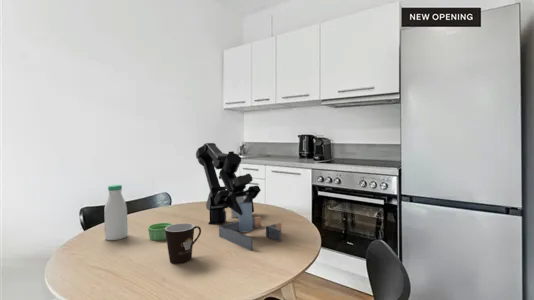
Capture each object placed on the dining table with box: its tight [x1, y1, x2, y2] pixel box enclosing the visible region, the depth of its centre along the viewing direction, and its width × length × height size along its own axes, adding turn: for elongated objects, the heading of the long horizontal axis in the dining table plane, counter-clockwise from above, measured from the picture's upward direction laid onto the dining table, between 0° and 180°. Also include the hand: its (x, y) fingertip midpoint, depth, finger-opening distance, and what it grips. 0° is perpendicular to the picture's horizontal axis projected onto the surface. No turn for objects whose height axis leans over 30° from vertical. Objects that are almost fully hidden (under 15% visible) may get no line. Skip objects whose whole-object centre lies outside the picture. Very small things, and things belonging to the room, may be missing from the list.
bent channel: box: [218, 216, 283, 251], centre depth 109 cm, size 20×20×4 cm
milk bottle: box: [103, 184, 129, 241], centre depth 111 cm, size 8×8×20 cm
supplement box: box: [230, 188, 248, 218], centre depth 140 cm, size 7×7×13 cm
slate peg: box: [238, 202, 253, 233], centre depth 108 cm, size 5×5×10 cm
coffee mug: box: [165, 222, 202, 265], centre depth 89 cm, size 12×9×10 cm
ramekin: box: [147, 222, 173, 241], centre depth 110 cm, size 9×9×4 cm
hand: (247, 213), depth 107 cm, fingers closed on slate peg, 5 cm apart
